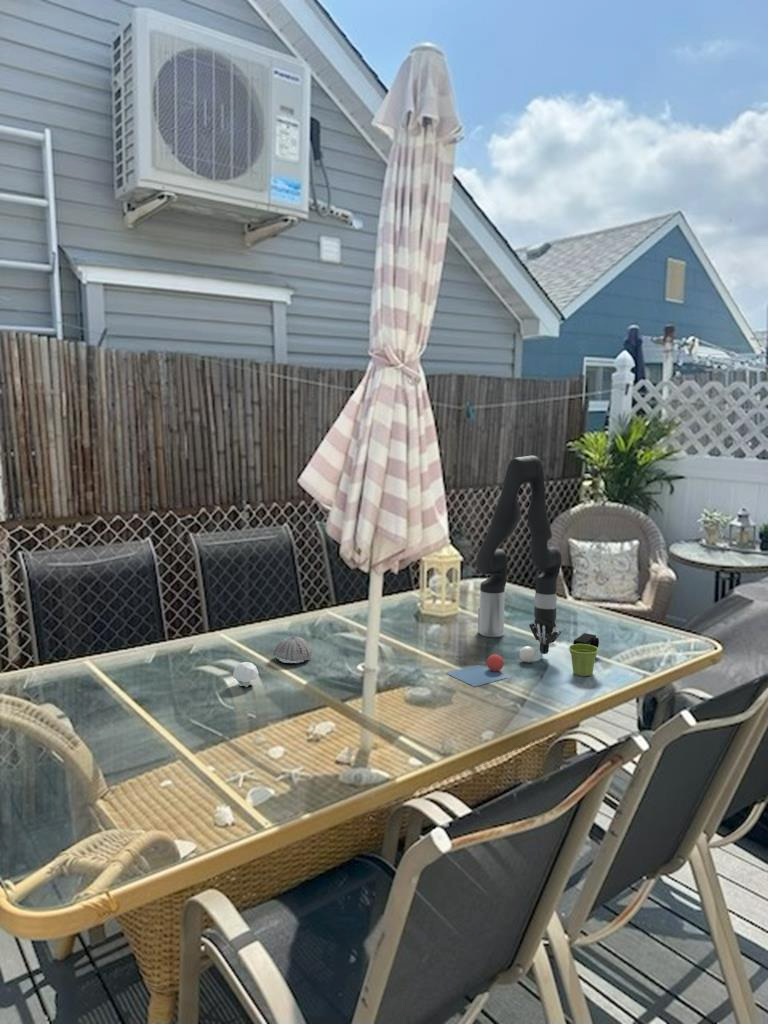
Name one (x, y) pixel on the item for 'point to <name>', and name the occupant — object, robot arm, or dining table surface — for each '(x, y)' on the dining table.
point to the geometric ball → (245, 672)
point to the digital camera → (587, 640)
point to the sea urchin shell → (293, 649)
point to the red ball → (495, 662)
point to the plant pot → (583, 658)
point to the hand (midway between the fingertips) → (544, 653)
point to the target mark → (476, 675)
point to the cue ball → (527, 654)
